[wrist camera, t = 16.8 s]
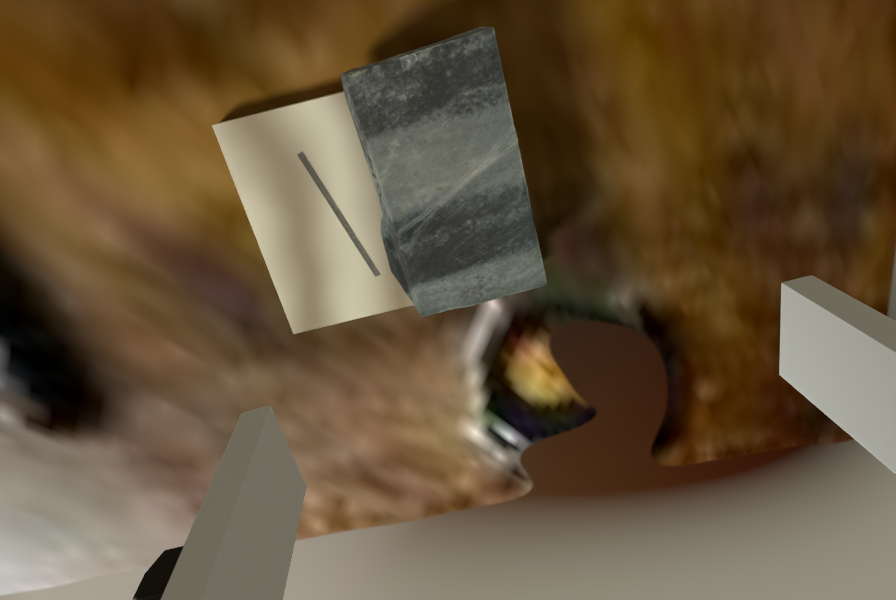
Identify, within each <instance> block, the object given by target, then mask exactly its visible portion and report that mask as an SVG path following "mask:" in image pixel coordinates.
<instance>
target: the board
mask: <svg viewBox="0 0 896 600" xmlns="http://www.w3.org/2000/svg"><path fill="white" fill-rule="evenodd" d="M499 54H500V53H499ZM212 127H213V129H214V132H215V134H216V137H217V139H218V142H219V145H220V147H221V150H222V152H223V155H224V157H225V160H226V162H227V165H228V168H229V170H230V173H231V175H232V178H233V180H234V183H235V185H236V188H237V191H238V193H239V196H240V198H241V201H242V203H243V206H244V209H245V211H246V214H247V216H248V219H249V221H250V224H251V226H252V229H253V232H254V234H255V237H256V239H257V242H258V244H259V247H260V249H261V252H262V255H263V257H264V260H265V262H266V265H267V267H268V270H269V272H270V275H271V278H272V280H273V283H274V285H275V288H276V290H277V293H278V295H279V298H280V301H281V303H282V306H283V308H284V311H285V313H286V316H287V318H288V321H289V324H290V326H291V329H292V331H293V334H296V333H300V332H304V331H308V330H312V329H316V328H321V327H325V326H329V325H333V324H337V323H341V322H345V321H350V320H354V319H358V318H362V317H366V316H370V315H374V314H379V313H383V312H387V311H391V310H395V309H399V308H404V307H408V306H412V305H413V303H412V302H411V300H410V298H409V297H408V296H407V294H406V293H405V292H404V290H403V288H402V286H401V285H400V284H399V282H398V281H397V279H396V278H395V276H394V275H393V274H392V272H391V269H390V265H389V262H388V258H387V254H386V251H385V247H384V244H383V240H382V236H381V232H380V227H381V221H380V220H381V218H382V210H381V207H380V203H379V200H378V197H377V194H376V190H375V187H374V184H373V180H372V177H371V174H370V171H369V168H368V165H367V162H366V159H365V155H364V152H363V149H362V146H361V143H360V140H359V137H358V134H357V131H356V128H355V125H354V122H353V119H352V116H351V113H350V110H349V107H348V104H347V101H346V97H345V94H344V91H342V92H338V93H334V94H330V95H326V96H322V97H318V98H314V99H310V100H306V101H302V102H298V103H294V104H290V105H286V106H282V107H278V108H274V109H270V110H266V111H262V112H258V113H254V114H250V115H246V116H242V117H238V118H234V119H230V120H226V121H222V122H219V123H216V124H214V125H212Z"/></svg>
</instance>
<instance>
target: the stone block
mask: <svg viewBox="0 0 896 600" xmlns="http://www.w3.org/2000/svg"><path fill="white" fill-rule="evenodd" d="M341 82H342V86H343V90H344V94H345V97H346V101H347V104H348V107H349V110H350V113H351V116H352V119H353V122H354V125H355V128H356V131H357V134H358V137H359V140H360V143H361V146H362V149H363V152H364V155H365V159H366V162H367V165H368V168H369V171H370V174H371V177H372V180H373V184H374V187H375V190H376V194H377V197H378V200H379V203H380V207H381V210H382V218H381V220H380V221H381V227H380V232H381V236H382V240H383V244H384V247H385V251H386V254H387V258H388V262H389V265H390V269H391V272H392V274H393V275H394V276H395V278H396V279H397V281H398V282H399V284H400V285H401V286H402V288H403V290H404V292H405V293H406V294H407V296H408V297H409V298H410V300H411V302H412V303H413V305H414V307H415V308H416V309H417V310H418V311H419V313H420V315H421V316H422V317H423V316H428V315H431V314H435V313H440V312H443V311H447V310H451V309H456V308H462V307H468V306H472V305H477V304H480V303H483V302H487V301H490V300H494V299H497V298H500V297H503V296H507V295H512V294H515V293H519V292H523V291H527V290H531V289H534V288H537V287H541V286H544V285H546V284H547V281H546V276H545V271H544V266H543V261H542V256H541V251H540V247H539V242H538V237H537V232H536V228H535V223H534V219H533V213H532V209H531V204H530V199H529V193H528V188H527V184H526V179H525V174H524V169H523V164H522V159H521V154H520V149H519V145H518V137H517V133H516V130H515V127H514V123H513V118H512V112H511V108H510V103H509V99H508V93H507V88H506V84H505V79H504V74H503V69H502V64H501V59H500V54H499V49H498V45H497V40H496V35H495V30H494V28H493V27H477V28H474V29H472V30H469V31H467V32H463V33H460V34H458V35H455V36H453V37H450V38H447V39H444V40H441V41H438V42H435V43H432V44H429V45H426V46H423V47H420V48H417V49H414V50H411V51H408V52H406V53H402V54H398V55H396V56H393V57H390V58H387V59H385V60H382V61H379V62H376V63H371V64H369V65H366V66H363V67H360V68H354V69H351V70H349V71H347V72H345V73H342V74H341Z"/></svg>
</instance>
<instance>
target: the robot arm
mask: <svg viewBox="0 0 896 600" xmlns="http://www.w3.org/2000/svg"><path fill="white" fill-rule="evenodd" d="M779 375H780V376H781V377H783V378H784V379H785V380H786V381H787V382H788V383H790V384H791V385H792V386H793V387H794V388H795V389H797V390H798V391H799V392H800V393H801V394H802V395H804V396H805V397H806V398H807V399H808V400H809V401H811V402H812V403H813V404H814V405H815V406H816V407H818V408H819V409H820V410H821V411H822V412H823V413H825V414H826V415H827V416H828V417H829V418H830V419H832V420H833V421H834V422H835V423H836V424H837V425H839V426H840V427H841V428H842V429H843V430H844V431H846V432H847V433H848V434H849V435H850V436H851V437H853V438H854V439H855V440H856V441H857V442H859V443H860V444H861V445H862V446H863V447H865V449H867V450H868V451H869V452H870V453H871V454H873V455H874V456H875V457H876V458H877V459H878V460H879V461H881V462H882V463H883V464H884V465H885V466H886V467H888V468H889V469H890V470H891V471H892V472H894V473H895V474H896V321H894V320H892V319H890V318H889V317H887V316H885V315H883V314H881V313H880V312H878V311H876V310H874V309H872V308H870V307H869V306H867V305H865V304H863V303H861V302H860V301H858V300H856V299H854V298H852V297H850V296H849V295H847V294H845V293H843V292H841V291H839V290H838V289H836V288H834V287H832V286H830V285H829V284H827V283H825V282H823V281H821V280H819V279H818V278H816V277H814V276H812V275H811V276H807V277H803V278H799V279H795V280H791V281H786V282H782V285H781V329H780V373H779ZM305 491H306V485H305V483H304V481H303V478H302V476H301V474H300V471H299V469H298V467H297V465H296V462H295V460H294V458H293V455H292V453H291V451H290V449H289V446H288V444H287V442H286V439H285V437H284V435H283V433H282V430H281V428H280V426H279V423H278V421H277V419H276V417H275V414H274V412H273V410H272V407H271V406H267V407H263V408H259V409H255V410H250V411H246V412H242V413H241V415H240V417H239V420H238V422H237V424H236V427H235V429H234V431H233V433H232V436H231V438H230V440H229V443H228V445H227V447H226V450H225V452H224V454H223V457H222V459H221V461H220V464H219V466H218V468H217V471H216V473H215V475H214V477H213V480H212V482H211V484H210V487H209V489H208V491H207V494H206V496H205V498H204V501H203V503H202V505H201V508H200V510H199V512H198V515H197V517H196V519H195V521H194V524H193V526H192V528H191V531H190V533H189V535H188V538H187V540H186V542H185V545H184V546H182V547H177V548H173V549H169V550H165V551H164V552H163V553H162V554H161V555H160V557H159V558H158V559H157V560H156V561H155V562H154V564H153V565H152V566H151V567H150V568H149V570H148V571H147V572H146V573H145V575H144V577H143V579H142V581H141V583H140V585H139V587H138V589H137V591H136V593H135V595H134V597H133V600H283V596H284V591H285V586H286V581H287V576H288V572H289V567H290V562H291V557H292V553H293V548H294V543H295V539H296V534H297V529H298V524H299V520H300V515H301V510H302V505H303V501H304V496H305Z"/></svg>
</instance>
